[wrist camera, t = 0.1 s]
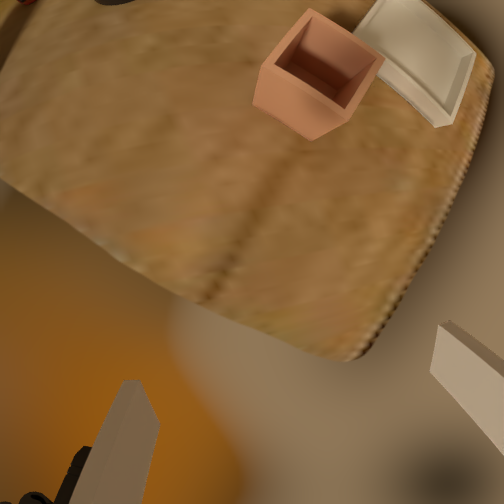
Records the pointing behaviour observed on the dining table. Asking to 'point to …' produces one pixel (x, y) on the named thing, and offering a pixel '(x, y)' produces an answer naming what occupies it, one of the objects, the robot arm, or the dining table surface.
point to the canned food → (26, 1)
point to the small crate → (316, 76)
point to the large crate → (419, 56)
